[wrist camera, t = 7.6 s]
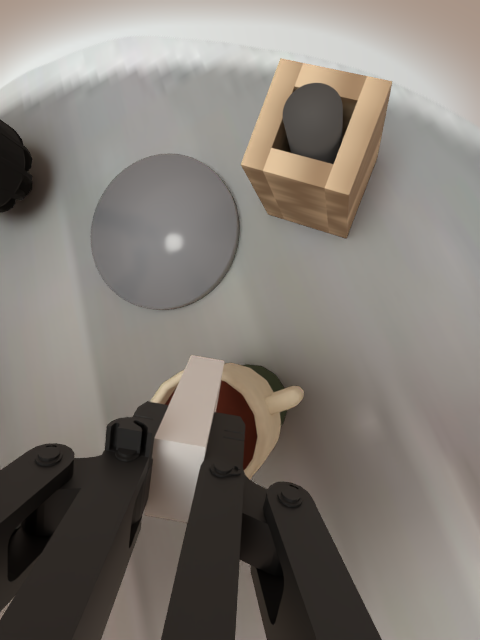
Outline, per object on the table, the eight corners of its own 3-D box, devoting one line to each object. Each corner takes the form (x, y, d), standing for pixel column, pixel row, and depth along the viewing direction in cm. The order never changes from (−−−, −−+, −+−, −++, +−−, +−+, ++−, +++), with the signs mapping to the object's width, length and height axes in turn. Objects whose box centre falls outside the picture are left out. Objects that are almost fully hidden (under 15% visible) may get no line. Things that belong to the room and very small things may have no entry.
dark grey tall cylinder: (293, 194, 33) (274, 132, 24) (307, 155, 33) (294, 77, 24) (332, 206, 33) (329, 147, 23) (348, 166, 33) (351, 89, 23)
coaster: (78, 280, 39) (70, 278, 38) (128, 143, 39) (121, 137, 38) (206, 332, 36) (201, 331, 35) (262, 182, 36) (259, 176, 34)
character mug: (208, 460, 35) (135, 525, 23) (182, 382, 36) (98, 402, 24) (328, 421, 33) (321, 468, 20) (297, 339, 34) (272, 335, 21)
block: (268, 214, 35) (240, 164, 26) (296, 137, 35) (280, 58, 25) (346, 238, 34) (348, 194, 24) (377, 158, 33) (392, 81, 24)
